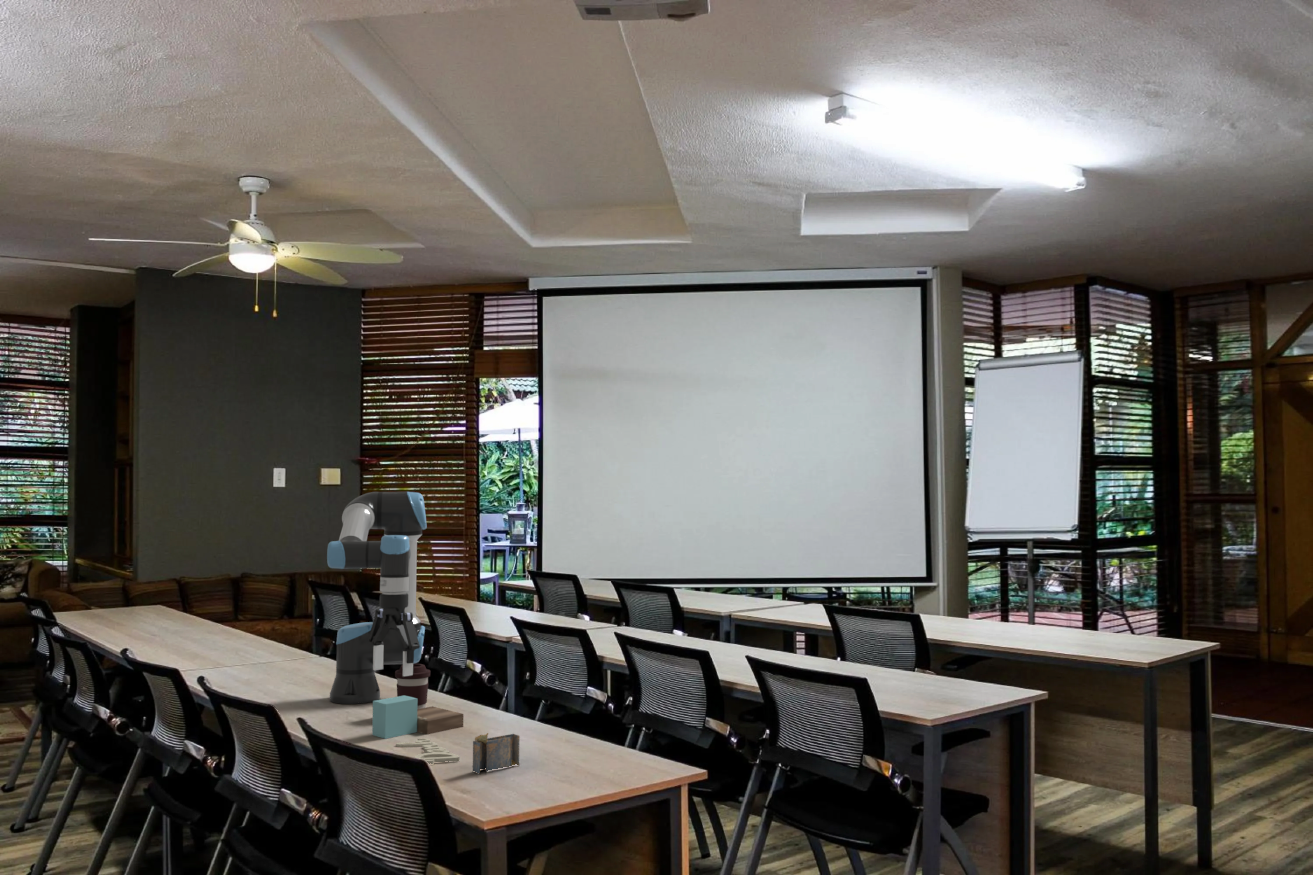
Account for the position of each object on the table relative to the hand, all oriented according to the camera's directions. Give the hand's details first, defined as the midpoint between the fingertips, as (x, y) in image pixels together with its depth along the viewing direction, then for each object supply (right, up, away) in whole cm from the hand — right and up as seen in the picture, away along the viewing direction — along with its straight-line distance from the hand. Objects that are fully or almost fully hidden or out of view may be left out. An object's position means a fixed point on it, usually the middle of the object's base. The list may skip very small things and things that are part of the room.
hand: (392, 672), depth 281 cm
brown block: (+8, -17, +9) cm, 21 cm away
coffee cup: (0, -18, +21) cm, 28 cm away
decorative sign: (+13, -17, -18) cm, 28 cm away
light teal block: (+1, -16, 0) cm, 16 cm away
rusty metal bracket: (+33, -17, -31) cm, 48 cm away
